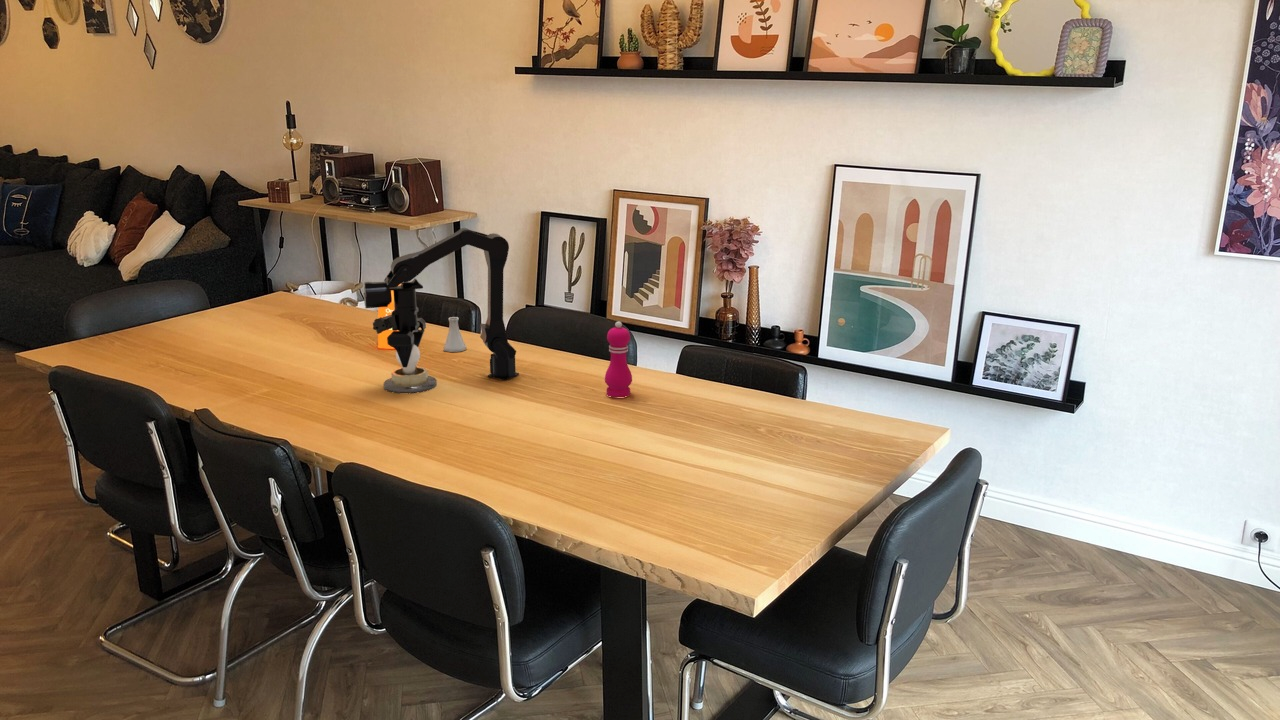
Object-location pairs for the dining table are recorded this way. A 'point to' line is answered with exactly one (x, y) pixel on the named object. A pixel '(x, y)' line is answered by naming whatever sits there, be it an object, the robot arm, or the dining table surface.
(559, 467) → the dining table surface
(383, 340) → the orange juice
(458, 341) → the flask
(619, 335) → the pepper mill
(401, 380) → the holder
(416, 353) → the lightbulb
